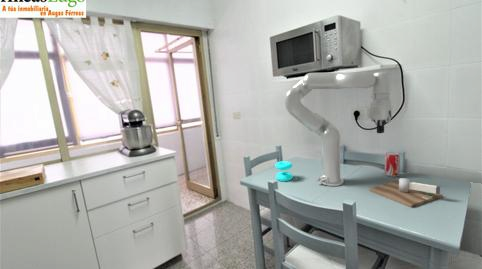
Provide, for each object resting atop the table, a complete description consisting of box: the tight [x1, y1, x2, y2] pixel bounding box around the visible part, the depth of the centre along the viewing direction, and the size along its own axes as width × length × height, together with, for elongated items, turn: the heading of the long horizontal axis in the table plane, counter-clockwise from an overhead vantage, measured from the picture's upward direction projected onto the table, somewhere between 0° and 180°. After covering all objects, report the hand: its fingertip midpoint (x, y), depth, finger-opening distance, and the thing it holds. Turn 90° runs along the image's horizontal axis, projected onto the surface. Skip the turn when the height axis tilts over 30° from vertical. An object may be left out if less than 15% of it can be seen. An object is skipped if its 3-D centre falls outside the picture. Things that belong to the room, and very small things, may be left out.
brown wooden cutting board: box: [368, 179, 444, 209], centre depth 115 cm, size 21×21×2 cm
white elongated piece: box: [398, 177, 441, 194], centre depth 110 cm, size 15×4×5 cm, turn 47°
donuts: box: [275, 160, 294, 182], centre depth 146 cm, size 10×10×10 cm
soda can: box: [384, 151, 401, 178], centre depth 137 cm, size 7×7×13 cm
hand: (380, 132), depth 125 cm, fingers closed
